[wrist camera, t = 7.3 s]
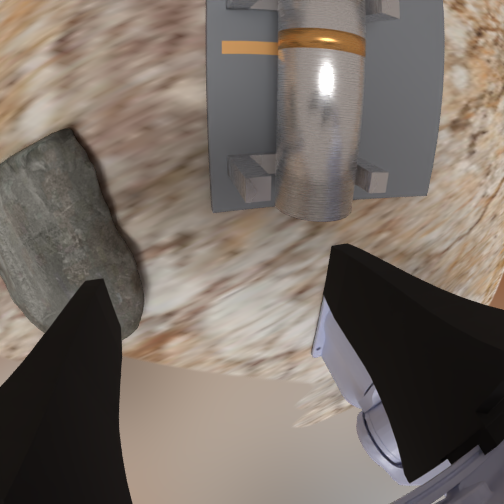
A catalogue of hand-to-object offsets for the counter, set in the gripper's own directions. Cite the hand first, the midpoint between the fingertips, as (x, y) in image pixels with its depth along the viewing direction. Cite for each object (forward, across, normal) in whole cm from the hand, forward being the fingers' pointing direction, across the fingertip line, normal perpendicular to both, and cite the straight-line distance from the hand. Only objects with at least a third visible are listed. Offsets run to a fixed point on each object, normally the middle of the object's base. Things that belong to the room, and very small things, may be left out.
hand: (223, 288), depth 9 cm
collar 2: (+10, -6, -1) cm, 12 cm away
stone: (+11, +10, +4) cm, 15 cm away
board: (+10, -10, -7) cm, 16 cm away
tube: (+9, -6, -6) cm, 13 cm away
